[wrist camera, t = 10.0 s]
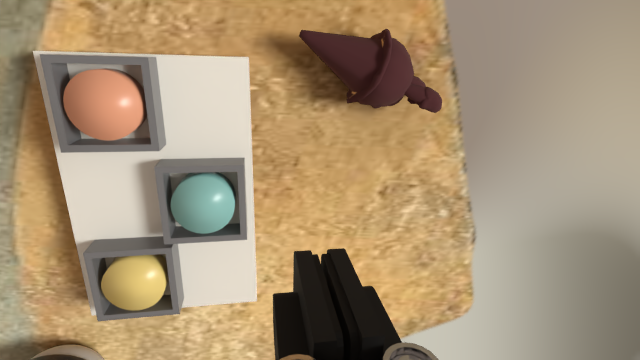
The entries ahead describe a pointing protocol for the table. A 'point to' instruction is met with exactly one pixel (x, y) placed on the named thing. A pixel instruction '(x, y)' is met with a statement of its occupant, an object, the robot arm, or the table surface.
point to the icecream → (372, 69)
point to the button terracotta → (105, 103)
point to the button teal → (203, 202)
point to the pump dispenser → (68, 353)
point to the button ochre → (135, 281)
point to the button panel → (159, 175)
